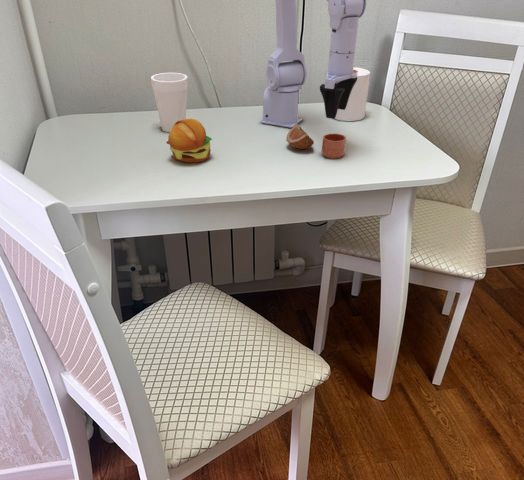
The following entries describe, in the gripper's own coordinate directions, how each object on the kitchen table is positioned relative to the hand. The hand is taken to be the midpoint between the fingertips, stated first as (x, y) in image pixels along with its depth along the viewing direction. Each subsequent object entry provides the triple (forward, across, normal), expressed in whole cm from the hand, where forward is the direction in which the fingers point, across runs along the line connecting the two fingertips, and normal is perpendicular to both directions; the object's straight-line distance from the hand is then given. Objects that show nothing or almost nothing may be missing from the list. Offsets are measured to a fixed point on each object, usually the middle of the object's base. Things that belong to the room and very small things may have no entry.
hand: (335, 113), depth 133 cm
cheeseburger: (+10, -20, +29) cm, 37 cm away
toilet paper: (+10, +29, +6) cm, 31 cm away
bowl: (+9, -2, -1) cm, 10 cm away
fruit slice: (+10, -2, +8) cm, 13 cm away
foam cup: (+10, -4, +44) cm, 46 cm away
